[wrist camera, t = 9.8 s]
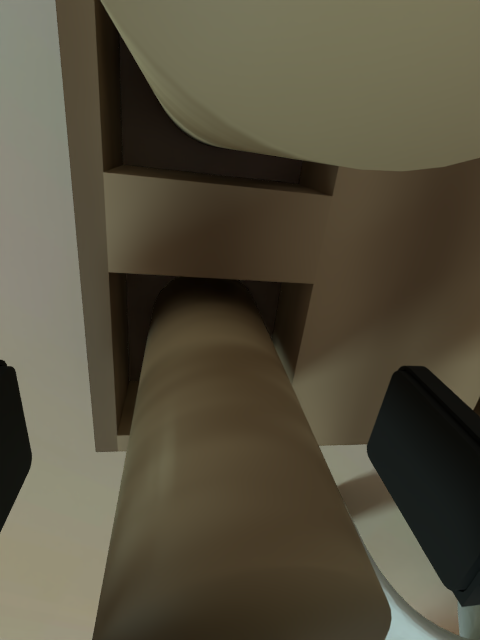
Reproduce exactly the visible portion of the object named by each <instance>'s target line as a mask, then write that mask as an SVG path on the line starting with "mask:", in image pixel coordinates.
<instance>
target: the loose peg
mask: <svg viewBox="0 0 480 640" xmlns="http://www.w3.org/2000/svg"><path fill="white" fill-rule="evenodd" d="M391 620H392V617H391V608H390V605H389V603H388V600H387V598H386V596H385V593H384V591H383V589H382V587H381V584H380V582H379V580H378V578H377V575H376V573H375V571H374V569H373V566H372V564H371V562H370V560H369V557H368V555H367V553H366V551H365V548H364V546H363V544H362V542H361V539H360V537H359V535H358V533H357V531H356V528H355V526H354V524H353V522H352V519H351V517H350V515H349V513H348V510H347V508H346V506H345V504H344V501H343V499H342V497H341V495H340V492H339V490H338V488H337V486H336V483H335V481H334V479H333V477H332V474H331V472H330V470H329V468H328V465H327V463H326V461H325V459H324V457H323V454H322V452H321V450H320V448H319V445H318V443H317V441H316V439H315V436H314V434H313V432H312V430H311V427H310V425H309V423H308V421H307V418H306V416H305V414H304V412H303V409H302V407H301V405H300V403H299V400H298V398H297V396H296V394H295V391H294V389H293V387H292V385H291V382H290V380H289V378H288V376H287V374H286V371H285V369H284V367H283V365H282V362H281V360H280V358H279V356H278V353H277V351H276V349H275V347H274V344H273V342H272V340H271V338H270V335H269V333H268V331H267V329H266V326H265V324H264V322H263V320H262V317H261V315H260V313H259V311H258V308H257V306H256V304H255V302H254V300H253V297H252V296H251V294H250V292H249V291H248V290H247V288H246V287H245V286H244V285H243V284H242V283H241V282H239V281H238V280H236V279H219V278H201V277H184V276H180V277H178V278H176V279H174V280H173V281H172V282H170V283H169V284H168V285H167V286H166V287H165V288H164V289H163V290H162V291H161V293H160V294H159V295H158V297H157V299H156V301H155V304H154V306H153V311H152V316H151V321H150V327H149V332H148V338H147V343H146V349H145V354H144V360H143V365H142V371H141V376H140V382H139V387H138V393H137V398H136V403H135V409H134V414H133V420H132V425H131V431H130V436H129V442H128V447H127V453H126V458H125V464H124V469H123V475H122V480H121V485H120V491H119V496H118V502H117V507H116V513H115V518H114V524H113V529H112V535H111V540H110V546H109V551H108V557H107V562H106V568H105V573H104V578H103V584H102V589H101V595H100V600H99V606H98V611H97V617H96V622H95V628H94V633H93V639H92V640H385V638H386V636H387V634H388V631H389V629H390V625H391Z"/></svg>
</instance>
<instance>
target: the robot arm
mask: <svg viewBox="0 0 480 640" xmlns="http://www.w3.org/2000/svg"><path fill="white" fill-rule="evenodd" d="M367 453H368V457H369V459H370V461H371V462H372V464H373V466H374V467H375V469H376V471H377V473H378V474H379V476H380V478H381V479H382V481H383V483H384V484H385V486H386V488H387V489H388V491H389V493H390V495H391V496H392V498H393V500H394V501H395V503H396V505H397V506H398V508H399V510H400V512H401V513H402V515H403V517H404V518H405V520H406V522H407V523H408V525H409V527H410V529H411V530H412V532H413V534H414V535H415V537H416V539H417V540H418V542H419V544H420V546H421V547H422V549H423V551H424V552H425V554H426V556H427V557H428V559H429V561H430V563H431V564H432V566H433V568H434V569H435V571H436V573H437V574H438V576H439V578H440V580H441V581H442V583H443V584H444V585H445V586H446V587H447V588H448V589H449V590H451V591H452V592H453V593H454V595H455V597H456V598H457V600H458V602H459V603H460V605H461V607H467V606H475V605H480V416H479V415H478V414H476V413H475V412H474V411H473V410H472V409H471V408H470V407H469V406H468V405H467V404H466V403H465V402H463V401H462V400H461V399H460V398H459V397H458V396H457V395H456V394H455V393H454V392H453V391H452V390H451V389H449V388H448V387H447V386H446V385H445V384H444V383H443V382H442V381H441V380H440V379H439V378H438V377H436V376H435V375H434V374H433V373H432V372H431V371H430V370H429V369H428V368H426V367H425V366H401V367H400V368H399V369H398V371H395V372H394V373H393V375H392V377H391V380H390V382H389V385H388V388H387V391H386V394H385V396H384V399H383V402H382V405H381V408H380V410H379V413H378V416H377V419H376V422H375V424H374V427H373V430H372V433H371V436H370V438H369V441H368V444H367ZM31 461H32V453H31V448H30V443H29V438H28V432H27V427H26V422H25V417H24V412H23V407H22V402H21V397H20V392H19V387H18V382H17V376H16V372H15V369H14V368H13V367H11V366H7V364H6V363H5V361H3V360H0V532H1V530H2V528H3V526H4V523H5V521H6V519H7V517H8V515H9V513H10V511H11V508H12V506H13V504H14V502H15V500H16V498H17V496H18V493H19V491H20V489H21V487H22V485H23V483H24V481H25V478H26V476H27V474H28V472H29V469H30V466H31Z"/></svg>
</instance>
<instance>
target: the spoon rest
mask: <svg viewBox="0 0 480 640" xmlns="http://www.w3.org/2000/svg"><path fill="white" fill-rule="evenodd" d="M344 504H345V503H344ZM345 506H346V505H345ZM346 508H347V507H346ZM347 510H348V509H347ZM348 513H349V511H348ZM349 515H350V513H349ZM350 517H351V515H350ZM351 519H352V518H351ZM352 522H353V520H352ZM353 524H354V522H353ZM354 526H355V524H354ZM355 528H356V526H355ZM356 531H357V533H358V535H359V537H360V539H361V542H362V544H363V546H364V548H365V551H366V553H367V555H368V557H369V560H370V562H371V564H372V566H373V569H374V571H375V573H376V575H377V578H378V580H379V582H380V584H381V587H382V589H383V591H384V593H385V596H386V598H387V600H388V603H389V605H390V608H391V617H392V620H391V625H390V629H389V631H388V634H387V636H386V638H385V640H480V605H475V606H467V607H461V605H460V603H459V602H458V621H459V633H460V636H458V635H456V634H453V633H451V632H449V631H447V630H445V629H443V628H441V627H439V626H437V625H436V624H434V623H433V622H431V621H429V620H428V619H426V618H425V617H423V616H422V615H421V614H419V613H418V612H417V611H415V610H414V609H413V608H412V607H411V606H410V605H409V604H408V603H407V602H406V601H405V600H404V599H403V598H402V597H401V596H400V595H399V594H398V593H397V592H396V590H395V589H394V588H393V587H392V586H391V585H390V583H389V582H388V581H387V579H386V578H385V577H384V575H383V574H382V573H381V571H380V570H379V568H378V567H377V565H376V563H375V562H374V560H373V558H372V557H371V555H370V553H369V552H368V550H367V548H366V546H365V544H364V542H363V540H362V538H361V536H360V534H359V532H358V530H357V528H356Z"/></svg>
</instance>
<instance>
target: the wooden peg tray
mask: <svg viewBox="0 0 480 640" xmlns="http://www.w3.org/2000/svg"><path fill="white" fill-rule="evenodd" d="M56 11H57V23H58V34H59V45H60V56H61V67H62V79H63V90H64V101H65V112H66V123H67V135H68V146H69V157H70V168H71V179H72V191H73V202H74V213H75V224H76V235H77V247H78V258H79V269H80V280H81V291H82V303H83V314H84V325H85V336H86V347H87V359H88V370H89V381H90V392H91V403H92V415H93V426H94V437H95V448H96V452H114V451H127V447H128V442H129V436H130V431H131V425H132V420H133V414H134V409H135V403H136V398H137V393H138V387H139V382H140V381H129V355H128V321H127V288H126V273H131V274H148V275H166V276H184V277H201V278H219V279H236V280H254V281H271V282H282V284H281V290H280V296H279V302H278V307H277V313H276V319H275V325H274V331H273V336H272V342H273V344H274V347H275V349H276V351H277V353H278V356H279V358H280V360H281V362H282V365H283V367H284V369H285V371H286V374H287V376H288V378H289V380H290V382H291V385H292V387H293V389H294V391H295V394H296V396H297V398H298V400H299V403H300V405H301V407H302V409H303V412H304V414H305V416H306V418H307V421H308V423H309V425H310V427H311V430H312V432H313V434H314V436H315V439H316V441H317V443H318V445H319V446H324V445H359V444H368V441H369V438H370V436H371V433H372V430H373V427H374V424H375V422H376V419H377V416H378V413H379V410H380V408H381V405H382V402H383V399H384V396H385V394H386V391H387V388H388V385H389V382H390V380H391V377H392V375H393V373H394V372H395V371H398V369H399V368H400V367H401V366H425V367H426V368H428V369H429V370H430V371H431V372H432V373H433V374H434V375H435V376H436V377H438V378H439V379H440V380H441V381H442V382H443V383H444V384H445V385H446V386H447V387H448V388H449V389H451V390H452V391H453V392H454V393H455V394H456V395H457V396H458V397H459V398H460V399H461V400H462V401H463V402H465V403H466V404H467V405H468V406H469V407H470V408H471V409H472V410H473V411H474V412H475V413H476V414H478V415H479V416H480V0H56ZM119 33H120V35H121V37H122V38H123V40H124V42H125V43H126V45H127V47H128V49H129V50H130V52H131V54H132V55H133V57H134V59H135V61H136V62H137V64H138V66H139V67H140V69H141V71H142V73H143V74H144V76H145V78H146V79H147V81H148V83H149V85H150V86H151V88H152V90H153V91H154V93H155V95H156V97H157V98H158V100H159V102H160V103H161V105H162V107H163V109H164V110H165V112H166V113H167V115H168V116H169V118H170V119H171V120H172V121H173V122H174V124H175V125H176V126H177V127H178V128H179V129H180V130H182V131H183V132H184V133H185V134H187V135H188V136H189V137H191V138H192V139H194V140H196V141H198V142H200V143H203V144H206V145H210V146H215V147H221V148H227V149H233V150H240V151H246V152H253V153H259V154H265V155H272V156H278V157H284V158H291V159H297V160H303V162H302V168H301V173H300V179H299V184H295V183H286V182H277V181H268V180H258V179H249V178H240V177H231V176H222V175H212V174H203V173H194V172H185V171H176V170H167V169H157V168H148V167H139V166H130V165H123V155H122V122H121V88H120V55H119Z"/></svg>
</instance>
